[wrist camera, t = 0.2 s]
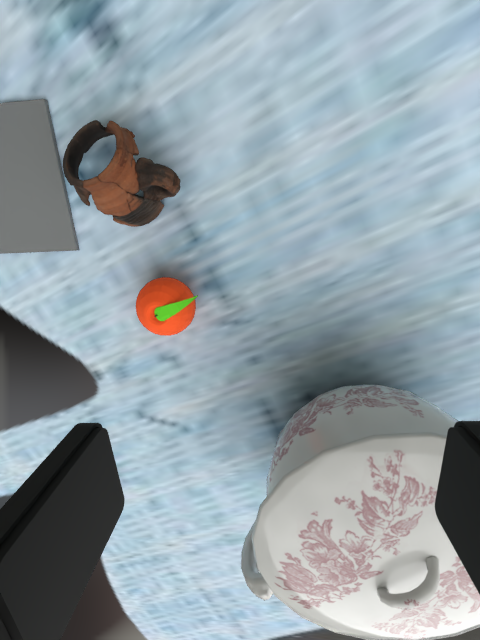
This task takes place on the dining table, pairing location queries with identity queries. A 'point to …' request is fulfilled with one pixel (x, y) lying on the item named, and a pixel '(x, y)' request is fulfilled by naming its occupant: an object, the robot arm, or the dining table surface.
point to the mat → (32, 182)
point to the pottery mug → (120, 177)
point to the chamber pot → (361, 520)
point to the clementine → (165, 306)
